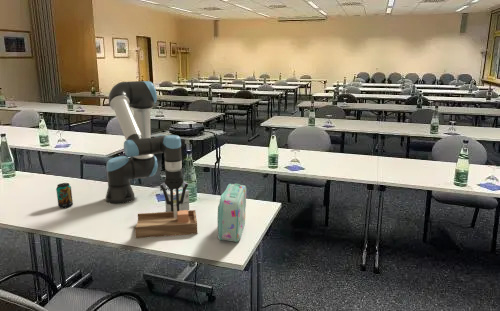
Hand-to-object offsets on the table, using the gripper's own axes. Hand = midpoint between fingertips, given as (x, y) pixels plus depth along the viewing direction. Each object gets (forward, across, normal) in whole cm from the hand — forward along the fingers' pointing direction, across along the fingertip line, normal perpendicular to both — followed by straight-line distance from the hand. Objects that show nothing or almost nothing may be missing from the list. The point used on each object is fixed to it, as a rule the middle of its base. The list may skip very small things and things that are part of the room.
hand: (175, 217), depth 188 cm
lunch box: (+4, +25, -12) cm, 28 cm away
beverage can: (+4, -57, +34) cm, 67 cm away
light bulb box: (+4, +1, +18) cm, 19 cm away
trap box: (+4, -4, -3) cm, 6 cm away
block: (+1, +4, -1) cm, 4 cm away
